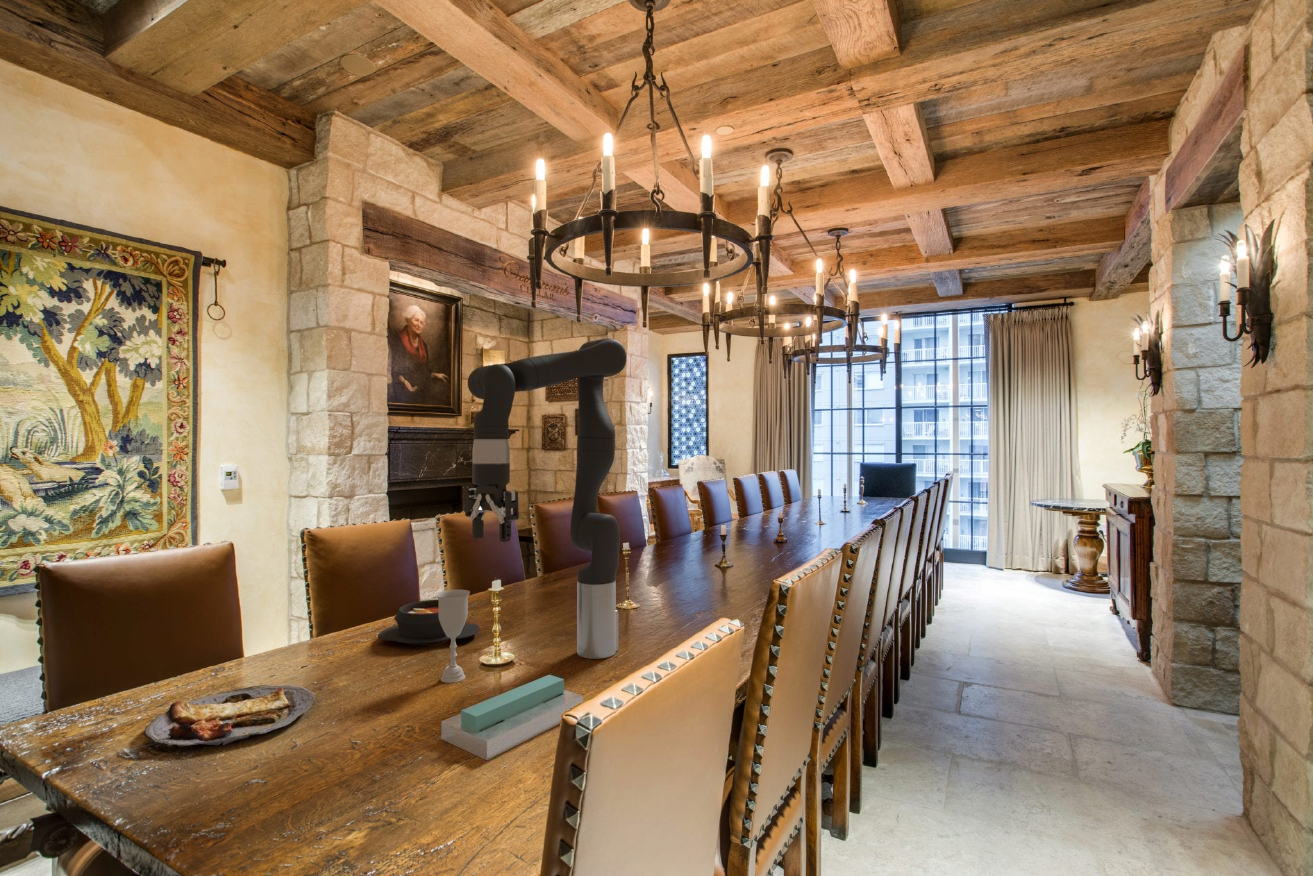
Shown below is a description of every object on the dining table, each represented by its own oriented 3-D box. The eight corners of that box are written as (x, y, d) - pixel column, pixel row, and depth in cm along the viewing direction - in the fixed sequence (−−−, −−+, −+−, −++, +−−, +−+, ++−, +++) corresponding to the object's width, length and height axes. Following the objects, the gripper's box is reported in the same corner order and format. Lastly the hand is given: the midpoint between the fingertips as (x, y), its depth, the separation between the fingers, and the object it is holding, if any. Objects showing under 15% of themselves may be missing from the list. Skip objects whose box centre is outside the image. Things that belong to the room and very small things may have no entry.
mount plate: (538, 696, 123) (538, 681, 123) (583, 712, 116) (583, 695, 116) (441, 739, 105) (441, 721, 105) (487, 760, 98) (487, 741, 98)
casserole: (486, 627, 170) (486, 596, 170) (470, 649, 151) (470, 615, 151) (393, 629, 168) (393, 598, 168) (365, 652, 150) (365, 617, 150)
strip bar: (549, 702, 120) (549, 674, 120) (564, 707, 117) (564, 679, 117) (461, 742, 104) (461, 710, 104) (476, 749, 101) (476, 716, 101)
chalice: (458, 685, 128) (459, 598, 129) (429, 683, 130) (429, 596, 130) (476, 673, 136) (476, 590, 136) (447, 670, 137) (447, 588, 137)
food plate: (126, 767, 96) (127, 744, 96) (162, 711, 117) (163, 692, 117) (311, 736, 107) (312, 715, 108) (314, 690, 128) (315, 673, 128)
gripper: (528, 461, 128) (528, 540, 127) (484, 460, 136) (484, 534, 136) (499, 462, 122) (499, 545, 121) (454, 461, 130) (454, 539, 130)
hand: (491, 539), depth 129 cm, fingers open, 8 cm apart
